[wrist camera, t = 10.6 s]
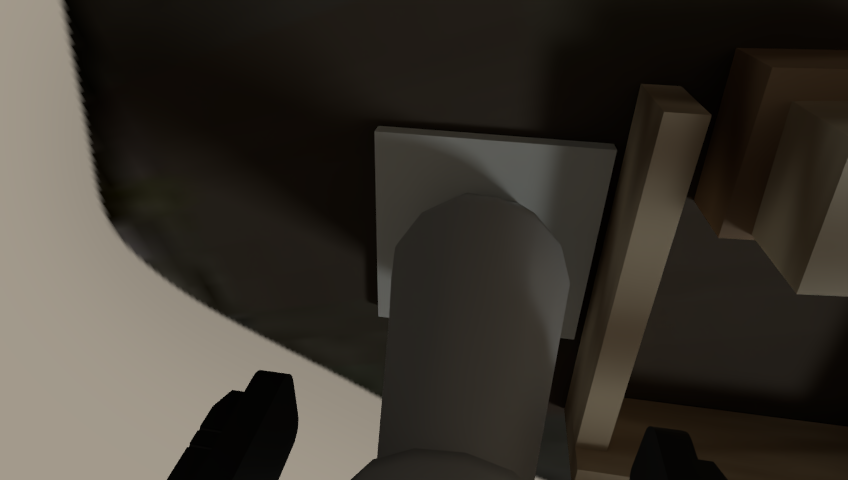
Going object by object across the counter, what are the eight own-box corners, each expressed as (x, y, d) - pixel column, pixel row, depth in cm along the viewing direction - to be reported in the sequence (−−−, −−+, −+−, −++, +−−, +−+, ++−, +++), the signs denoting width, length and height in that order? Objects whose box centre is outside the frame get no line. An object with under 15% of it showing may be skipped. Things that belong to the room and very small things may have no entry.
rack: (640, 83, 16) (673, 123, 13) (1123, 114, 15) (1304, 168, 11) (564, 409, 24) (572, 489, 20) (881, 451, 22) (946, 545, 19)
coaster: (378, 125, 18) (374, 131, 18) (614, 143, 17) (616, 150, 17) (381, 307, 22) (378, 316, 22) (572, 329, 22) (574, 339, 21)
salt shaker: (575, 295, 20) (644, 749, 9) (431, 317, 21) (335, 725, 10) (544, 152, 17) (587, 535, 6) (384, 189, 19) (190, 546, 8)
